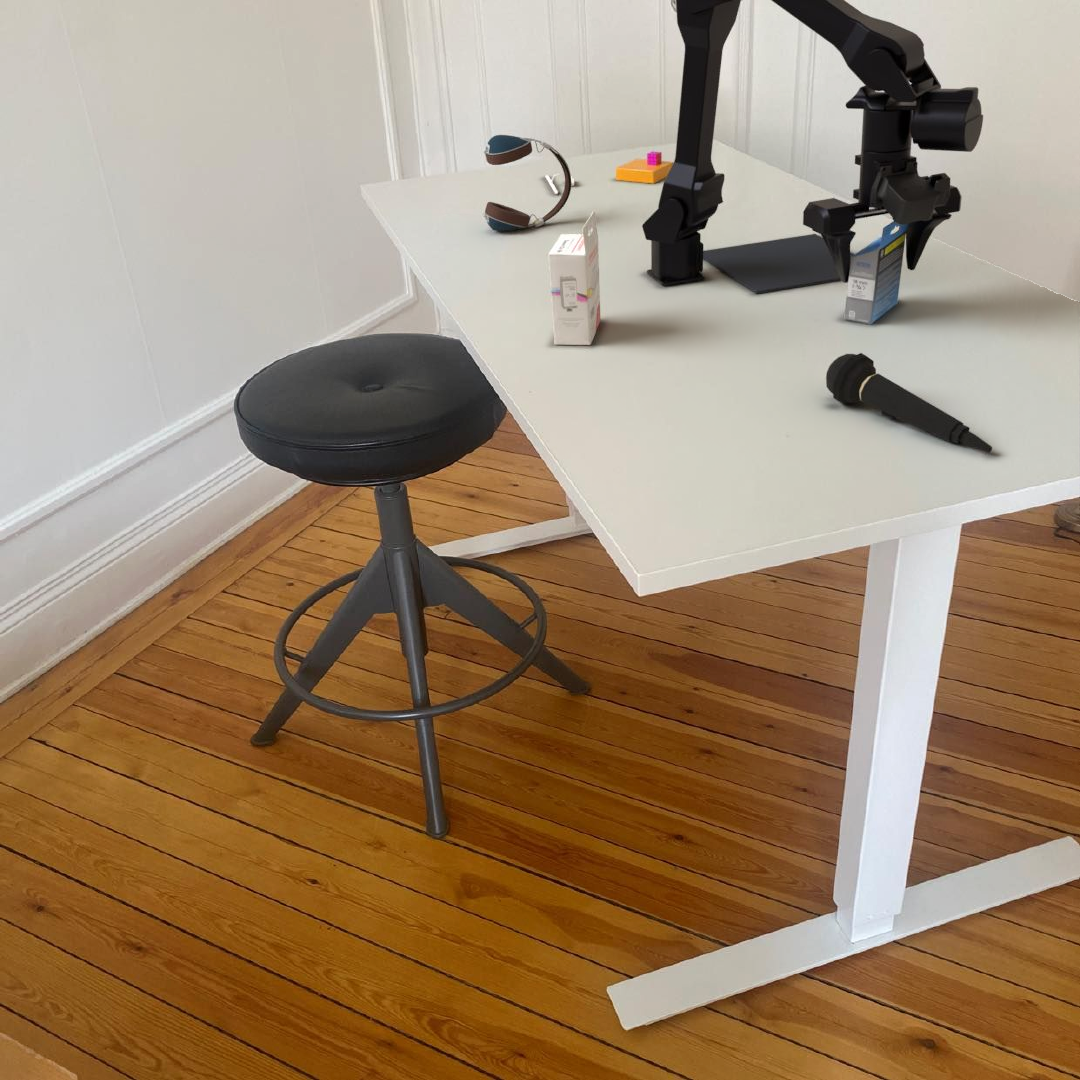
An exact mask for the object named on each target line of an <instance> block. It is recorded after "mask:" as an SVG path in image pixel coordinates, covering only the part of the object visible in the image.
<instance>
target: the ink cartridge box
mask: <svg viewBox="0 0 1080 1080" xmlns="http://www.w3.org/2000/svg"><path fill="white" fill-rule="evenodd" d="M590 228H591V231H590ZM581 231H582V233H562V234H560V235H559V237H558V238H557V240H556V241H555V244H553V246H552V248H551V249H550V251H549V252H548V253H547V257H548V267H549V284H550V296H551V297H550V299H551V311H552V312H551V313H552V327H553V329H552V330H553V343H554V345H556V346H557V345H560V346H561V345H562V346H563V345H564V346H566V345H567V346H591V345H592V343H593V340H594V338H595V336H596V333H597V330H598V328H599V325H600V323H601V295H600V294H601V292H600V290H601V289H600V287H601V286H600V285H601V284H600V259H599V258H600V255H599V234H598V224H597V217H596V211H595V210H593V211H592V213H591V214H590V216H589V217H588V218H587V220H586V222H585V223H584V225H583V227H582V229H581ZM589 231H590V233H589Z"/></svg>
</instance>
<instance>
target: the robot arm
mask: <svg viewBox="0 0 1080 1080" xmlns="http://www.w3.org/2000/svg"><path fill="white" fill-rule="evenodd" d="M741 1H742V0H675V7H676V24H677V27H678V30H679V33H680V36H681V38H682V41H683V44H684V55H683V67H682V76H681V77H682V79H681V89H680V101H679V112H678V123H677V133H676V144H675V145H676V146H675V154H674V156H675V157H674V161H673V165H672V167H671V169H670V171H669V173H668V175H667V177H666V178H664V181H663V184H662V188H661V193H660V196H659V201H658V206H657V207H658V208H657V209H656V210H655V211H654V212H653V213H652V214H651V215H650V216H649V218H648V219H646V220H645V222H643V223H642V225H641V227H642V230H643V231H642V232H643V234H644V238H645V239H646V240H647V241H650V247H651V250H650V252H651V253H650V254H651V260H650V264H651V266H650V267H651V268H650V269H647V270H646V274H647V275H648V276H649V277H651V278H652V279H653V280H654V281H656V282H657V283H658V284H660V285H661V286H664V287H665V286H672V285H678V284H685V283H691V282H698V281H703V280H705V278H706V277H705V274H703V273H702V272H703V271H704V259H703V251H704V243H703V242H702V241H701V237H702V236H701V235H702V234H701V232H700V231H702V230H705V229H706V227H707V225H708V222H709V219H710V218H711V217H713V216H714V215H715V214H716V213H717V210H718V207H719V205H721V204H723V203H724V199H723V186H724V182H725V174H724V173H719V172H717V173H716V170H715V168H714V165H713V162H712V154H713V153H712V152H713V142H714V134H715V124H716V116H717V108H718V107H717V106H718V97H719V87H720V77H721V69H722V59H723V50H724V46H725V43H726V41H727V39H728V37H729V35H730V33H731V31H732V29H733V27H734V26H735V23H736V21H737V18H738V13H739V10H740V5H741ZM771 2H773V3H774V4H775V5H777V6H779V7H780V8H781V9H783V10H784V11H785V12H787V13H788V14H789V15H791V16H792V17H793V18H795V19H796V20H798V21H799V22H801V23H802V24H803V25H804V26H805V27H807V28H808V29H810V30H811V31H813V32H814V33H816V34H817V35H819V37H821V38H823V39H824V40H825V41H827V42H828V43H830V44H831V45H832V46H833V47H835V49H836V50H837V51H838V52H839V53H840V55H841V56H842V58H843V60H844V62H845V65H846V66H847V68H849V70H850V71H851V72H852V73H853V74H854V75H855V77H857V78H858V79H859V80H860V82H862V84H863V86H860V87H859V89H857V92H856V93H855V94H854V95H853V96H852V97H851V98H850V99H849V100H848V101H847V102H845V108H846V109H849V110H850V109H851V110H862V127H861V148H860V154H855V155H854V164H855V165H857V166H859V181H858V182H859V183H858V188H855V189H853V191H852V199H854V200H857V201H858V202H853V203H848V202H845V201H843V200H840V199H837V198H835V197H831V198H825V199H820V200H819V199H818V200H814V201H809V202H808V203H807V205H806V206H805V208H804V210H803V213H802V214H803V215H802V225H803V226H805V227H807V228H809V229H811V231H813V232H815V233H817V234H819V235H821V236H820V237H822V238H823V239H824V241H825V243H826V245H827V247H828V249H829V251H830V254H831V256H832V259H833V261H834V264H835V266H836V269H837V271H838V274H839V276H840V279H841V280H840V281H841V282H843V283H844V284H846V283H848V280H849V270H850V252H851V243H852V241H853V239H854V238H855V236H856V234H857V232H856V231H853V230H851V229H852V228H853V227H854V225H856V220H859V219H865V218H871V217H876V216H882V215H887V214H889V215H890V216H891V219H892V220H893V221H895V222H896V223H898V224H901V225H906V224H908V225H907V230H906V236H905V259H906V268H907V269H908V270H909V271H914V270H916V267H917V266H918V263H919V261H920V258H921V257H922V254H923V252H924V250H925V247H926V246H927V243H928V242H929V239H930V237H931V236H932V234H933V232H934V230H935V229H936V228H937V227H938V226H939V225H941V224H942V223H943V222H945V221H947V220H950V219H951V218H952V213H953V214H954V213H959V212H960V211H961V207H962V197H963V196H962V194H961V192H960V190H959V188H958V187H957V186H955V185H951V177H950V176H949V175H948V174H947V173H946V172H942V173H935V174H931V175H930V176H929V175H925V176H920V175H919V172H918V165H919V164H918V161H917V160H918V159H917V158H918V157H917V156H913V155H911V154H912V144H914V145H917V146H918V148H919V150H923V151H944V152H966V153H972V151H974V149H975V148H976V146H977V144H978V142H979V140H980V136H981V133H982V130H983V124H984V122H983V121H984V114H982V104H981V101H980V100H979V89H980V88H978V87H977V86H967V87H962V88H942V85H941V83H940V80H939V79H938V78H937V76H936V75H935V73H934V71H933V70H932V67H930V65H929V63H928V62H927V60H926V58H925V56H926V55H925V49H924V48H925V47H924V46H925V44H924V42H923V40H922V38H921V37H920V36H919V35H918V34H917V33H915V32H913V31H911V30H908V29H906V28H905V27H902V26H900V25H898V24H895V23H893V22H890V21H887V20H883V19H879V18H877V17H872V16H870V15H868V14H865V13H863V12H862V11H860V10H859V9H857V8H856V7H854V6H853V5H852V4H850V3H849V2H847V1H846V0H771Z"/></svg>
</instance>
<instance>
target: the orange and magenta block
mask: <svg viewBox="0 0 1080 1080" xmlns="http://www.w3.org/2000/svg"><path fill="white" fill-rule="evenodd" d="M662 157H663V156H662V151H650V152H647V153H646V159H643V158H634V159H633V160H630V161H629V162H626V163H624V164H622V165H619V166H617V167H615V180H616V181H624V182H631V183H632V182H634V183H644V184H651V185H652V184H655V183H657V182H660V181H662V180H663V179H664V180H665V179H666V177H667V175H668V173H669V171H670V169H671V167H672V165H673V163H674V161H667V160H666V161H665V160H663V159H662Z"/></svg>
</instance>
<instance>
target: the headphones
mask: <svg viewBox="0 0 1080 1080" xmlns="http://www.w3.org/2000/svg"><path fill="white" fill-rule="evenodd" d="M532 141H533V142H534V143H535V146H536V151H537V153H541V152H543V150H544V149H547V150H548V151H550V152H551V153H552V154H553V156H554V157H555V158H556V159H557V161H558V162H559V164H560V166H561V168H562V171H563V175H564V177H565V178H564V189H563V193H562V194H561V196H560V198H559V201H557V203H556V205H555V206H554V207H552V209H551V210H550V211H549V212H548V213H547V214H545V215H544V216H543V217H537V216H536V215H535V214H533V213H531V215H529V214H527V213H525V212H523V211H520V210H518V209H515V208H512V207H510V206H506V205H504V204H500V203H498V202H493V201H488V202H487V203H486V205H485V210H484V215H483V217H484V218H485V222H486V223H487V225H488V226H489V228H490V229H491V230H493V231H496V232H510V231H517V230H521V229H525V228H530V227H535V228H538V227H541V226H543V225H545V224H546V222H547V221H549V220H550V219H552V218H554V216H556V215H557V214H558V213H559V212H560V211H561V210H562V209H563V208H564V207H565V205H566V203H567V201H568V200H569V197H570V195H571V190H572V186H571V176H572V174H571V171H570V167H569V164H568V163H567V161H566V160H565V158H564V157H563V156H562V155H561V154H560V152H558V150H556V148H554V147H553V146H552V145H551V144H549V143H547V142H544V141H542V140H538V139H535V138H531V137H530V138H529V137H521V136H515V135H508V134H496V135H494V136H492V137H491V138H489V140H488V141H487V143H486V145H485V148H484V151H483V154H484V155H485V160H486V162H487V163H488V164H489V165H492V166H501V165H505V164H509V163H513V162H516V161H519V160H522V159H524V158H526V157H527V156H530V155H531V154H532V153H533V146H532ZM537 143H538V144H539V145H540V146H541V147H543V148H542V149H541V150H540V151H539V148H538V144H537ZM532 216H534V218H535V220H534V221H533V222H532V224H530V222H531V218H532Z"/></svg>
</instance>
